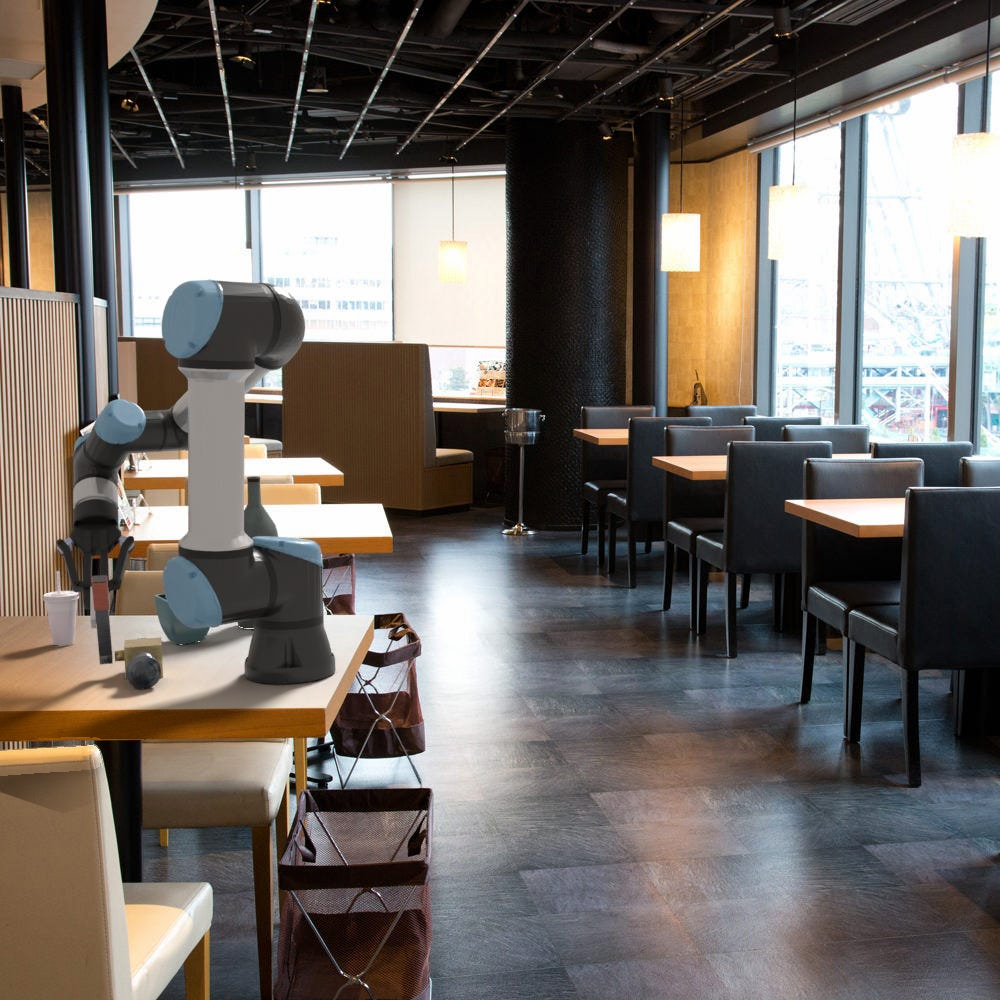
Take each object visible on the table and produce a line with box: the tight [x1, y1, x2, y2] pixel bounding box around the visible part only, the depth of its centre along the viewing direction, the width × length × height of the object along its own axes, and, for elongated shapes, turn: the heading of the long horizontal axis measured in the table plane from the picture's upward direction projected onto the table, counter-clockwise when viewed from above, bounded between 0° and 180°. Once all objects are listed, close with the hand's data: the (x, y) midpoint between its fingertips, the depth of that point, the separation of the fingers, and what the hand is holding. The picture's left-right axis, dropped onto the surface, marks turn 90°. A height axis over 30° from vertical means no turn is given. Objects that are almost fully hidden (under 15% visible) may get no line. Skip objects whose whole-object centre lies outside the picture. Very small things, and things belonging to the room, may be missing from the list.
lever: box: [92, 574, 114, 665], centre depth 196 cm, size 2×2×19 cm
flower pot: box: [154, 593, 211, 645], centre depth 227 cm, size 9×9×9 cm
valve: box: [114, 637, 164, 690], centre depth 200 cm, size 14×8×6 cm, turn 16°
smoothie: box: [42, 570, 80, 646], centre depth 225 cm, size 6×6×14 cm
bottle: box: [236, 475, 279, 628], centre depth 239 cm, size 9×9×30 cm
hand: (96, 623), depth 197 cm, fingers closed
